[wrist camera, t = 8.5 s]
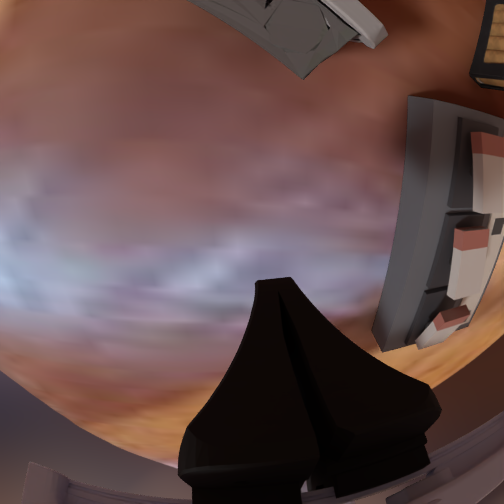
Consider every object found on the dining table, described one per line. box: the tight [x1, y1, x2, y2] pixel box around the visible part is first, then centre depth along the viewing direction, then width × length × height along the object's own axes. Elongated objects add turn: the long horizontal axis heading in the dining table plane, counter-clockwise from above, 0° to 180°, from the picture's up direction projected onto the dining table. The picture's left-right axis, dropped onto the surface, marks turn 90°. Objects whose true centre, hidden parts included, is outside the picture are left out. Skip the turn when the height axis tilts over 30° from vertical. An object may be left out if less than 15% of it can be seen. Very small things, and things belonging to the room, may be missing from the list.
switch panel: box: [372, 96, 504, 352], centre depth 20 cm, size 22×12×4 cm, turn 4°
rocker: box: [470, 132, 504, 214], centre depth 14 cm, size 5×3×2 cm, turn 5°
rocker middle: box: [447, 226, 489, 300], centre depth 17 cm, size 5×3×2 cm, turn 5°
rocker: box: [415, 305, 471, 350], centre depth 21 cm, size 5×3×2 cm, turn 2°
